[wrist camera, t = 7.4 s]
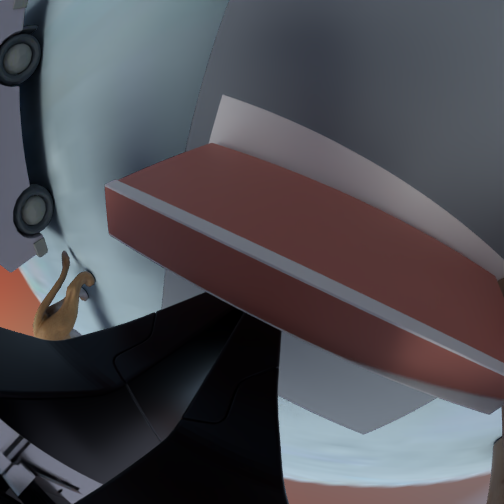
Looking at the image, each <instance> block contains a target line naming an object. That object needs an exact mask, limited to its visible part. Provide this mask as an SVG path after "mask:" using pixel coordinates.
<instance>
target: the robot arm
mask: <svg viewBox="0 0 504 504" xmlns="http://www.w3.org/2000/svg"><path fill="white" fill-rule="evenodd" d="M281 336H282V331H281V330H279V329H277V328H275V327H273V326H271V325H269V324H267V323H265V322H263V321H261V320H259V319H257V318H255V317H253V316H251V315H249V314H247V313H245V312H243V311H241V310H239V309H237V308H235V307H234V306H232V305H230V304H228V303H226V302H224V301H222V300H220V299H218V298H217V297H215V296H213V295H211V294H209V293H207V292H204V293H201V294H199V295H196V296H194V297H191V298H189V299H187V300H184V301H182V302H179V303H177V304H174V305H172V306H169V307H167V308H164V309H162V310H159V311H157V312H156V313H151V314H149V315H146V316H144V317H141V318H138V319H135V320H133V321H130V322H127V323H124V324H121V325H118V326H114V327H111V328H108V329H104V330H100V331H97V332H93V333H89V334H86V335H82V336H78V337H74V338H71V339H66V340H45V339H40V338H36V337H33V336H28V335H25V334H22V333H18V332H15V331H11V330H8V329H5V328H1V327H0V504H289V503H288V499H287V496H286V491H285V486H284V479H283V471H282V459H281V446H280V433H279V420H278V379H279V364H280V351H281Z"/></svg>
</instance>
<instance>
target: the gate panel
mask: <svg viewBox="0 0 504 504" xmlns="http://www.w3.org/2000/svg"><path fill="white" fill-rule="evenodd" d="M105 197H106V210H107V221H108V231H109V235H110V236H112V237H113V238H115V239H117V240H118V241H120V242H121V243H123V244H125V245H126V246H128V247H130V248H131V249H133V250H134V251H136V252H138V253H139V254H141V255H143V256H144V257H146V258H148V259H149V260H151V261H153V262H155V263H156V264H158V265H160V266H161V267H163V268H165V269H167V270H168V271H170V272H172V273H173V274H175V275H177V276H179V277H180V278H182V279H184V280H186V281H188V282H189V283H191V284H193V285H195V286H197V287H198V288H200V289H202V290H204V291H206V292H207V293H209V294H211V295H213V296H215V297H217V298H218V299H220V300H222V301H224V302H226V303H228V304H230V305H232V306H234V307H235V308H237V309H239V310H241V311H243V312H245V313H247V314H249V315H251V316H253V317H255V318H257V319H259V320H261V321H263V322H265V323H267V324H269V325H271V326H273V327H275V328H277V329H279V330H281V331H283V332H285V333H287V334H289V335H291V336H293V337H295V338H297V339H299V340H302V341H304V342H306V343H308V344H310V345H312V346H314V347H317V348H319V349H321V350H323V351H325V352H327V353H330V354H332V355H334V356H336V357H339V358H341V359H343V360H345V361H348V362H350V363H352V364H355V365H357V366H359V367H361V368H364V369H366V370H369V371H371V372H373V373H376V374H378V375H381V376H383V377H385V378H388V379H390V380H393V381H395V382H398V383H400V384H403V385H406V386H408V387H411V388H413V389H416V390H419V391H421V392H424V393H427V394H429V395H432V396H435V397H438V398H440V399H443V400H446V401H449V402H452V403H455V404H458V405H461V406H464V407H467V408H470V409H473V410H476V411H479V412H482V413H485V414H489V415H490V414H491V413H493V412H494V411H496V410H497V409H499V408H500V407H502V406H503V405H504V297H503V294H502V292H501V289H500V287H499V284H498V282H497V279H496V277H495V276H494V275H493V274H491V273H490V272H488V271H487V270H485V269H484V268H482V267H481V266H479V265H477V264H476V263H474V262H473V261H471V260H470V259H468V258H466V257H465V256H463V255H461V254H460V253H458V252H457V251H455V250H453V249H452V248H450V247H448V246H446V245H445V244H443V243H441V242H440V241H438V240H436V239H434V238H433V237H431V236H429V235H427V234H425V233H424V232H422V231H420V230H418V229H416V228H414V227H413V226H411V225H409V224H407V223H405V222H403V221H401V220H399V219H397V218H395V217H393V216H391V215H389V214H387V213H385V212H383V211H381V210H379V209H377V208H375V207H373V206H371V205H369V204H367V203H365V202H363V201H361V200H359V199H356V198H354V197H352V196H350V195H348V194H345V193H343V192H341V191H339V190H336V189H334V188H332V187H330V186H327V185H325V184H323V183H320V182H318V181H315V180H313V179H311V178H308V177H306V176H303V175H301V174H298V173H296V172H293V171H291V170H288V169H286V168H283V167H280V166H278V165H275V164H273V163H270V162H267V161H264V160H262V159H259V158H256V157H253V156H250V155H248V154H245V153H242V152H239V151H236V150H233V149H230V148H227V147H224V146H221V145H218V144H214V143H210V144H207V145H204V146H201V147H198V148H195V149H192V150H190V151H187V152H184V153H182V154H179V155H176V156H174V157H171V158H169V159H166V160H164V161H161V162H159V163H156V164H154V165H151V166H149V167H147V168H144V169H142V170H140V171H137V172H135V173H133V174H131V175H128V176H126V177H124V178H122V179H120V180H113V181H111V182H109V183H106V184H105Z"/></svg>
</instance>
